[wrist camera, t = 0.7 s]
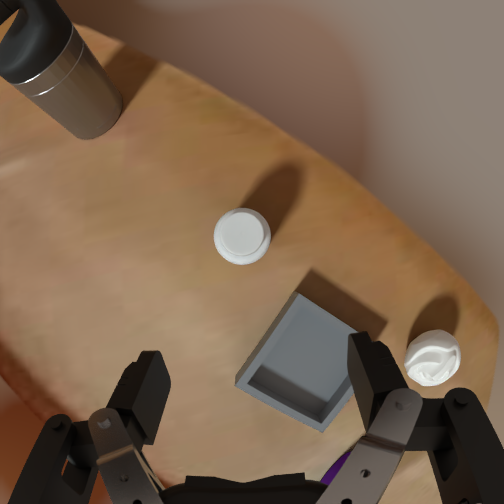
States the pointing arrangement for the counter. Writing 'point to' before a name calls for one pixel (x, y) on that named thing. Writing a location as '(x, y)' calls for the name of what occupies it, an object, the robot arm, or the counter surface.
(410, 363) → the white swirled ball
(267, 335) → the tray
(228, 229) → the supplement bottle
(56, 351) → the counter surface
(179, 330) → the counter surface
